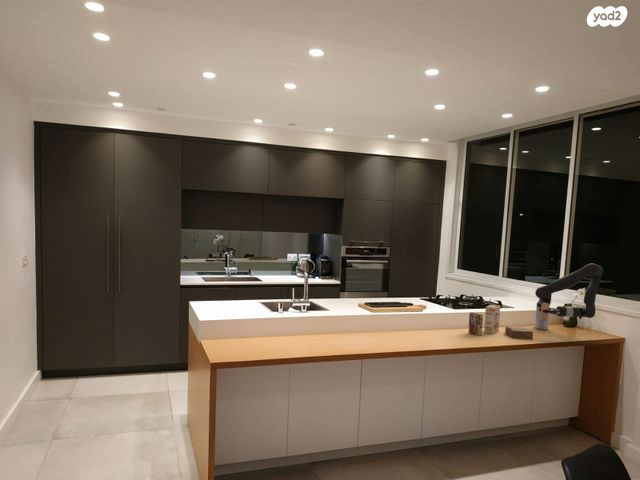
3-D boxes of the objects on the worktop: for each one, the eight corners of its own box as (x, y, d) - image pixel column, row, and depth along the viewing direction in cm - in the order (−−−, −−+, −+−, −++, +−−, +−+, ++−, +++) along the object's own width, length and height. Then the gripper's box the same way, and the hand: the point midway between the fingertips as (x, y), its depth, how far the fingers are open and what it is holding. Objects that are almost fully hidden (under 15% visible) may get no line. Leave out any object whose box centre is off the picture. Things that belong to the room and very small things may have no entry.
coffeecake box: (493, 334, 328) (495, 308, 328) (483, 332, 332) (485, 306, 332) (499, 331, 340) (500, 305, 339) (489, 329, 344) (491, 304, 344)
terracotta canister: (539, 319, 328) (540, 302, 327) (545, 319, 328) (547, 302, 327) (542, 320, 323) (543, 303, 323) (549, 320, 323) (550, 303, 323)
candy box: (482, 335, 323) (483, 314, 323) (479, 335, 321) (480, 314, 320) (471, 332, 330) (472, 312, 330) (468, 333, 328) (469, 312, 327)
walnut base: (505, 333, 333) (505, 326, 333) (523, 334, 333) (524, 327, 333) (512, 338, 319) (513, 330, 319) (532, 339, 319) (533, 331, 319)
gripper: (559, 304, 332) (536, 303, 332) (570, 308, 318) (546, 307, 318) (559, 314, 332) (536, 313, 333) (569, 318, 318) (545, 317, 318)
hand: (541, 310), depth 325 cm, fingers closed on terracotta canister, 4 cm apart
